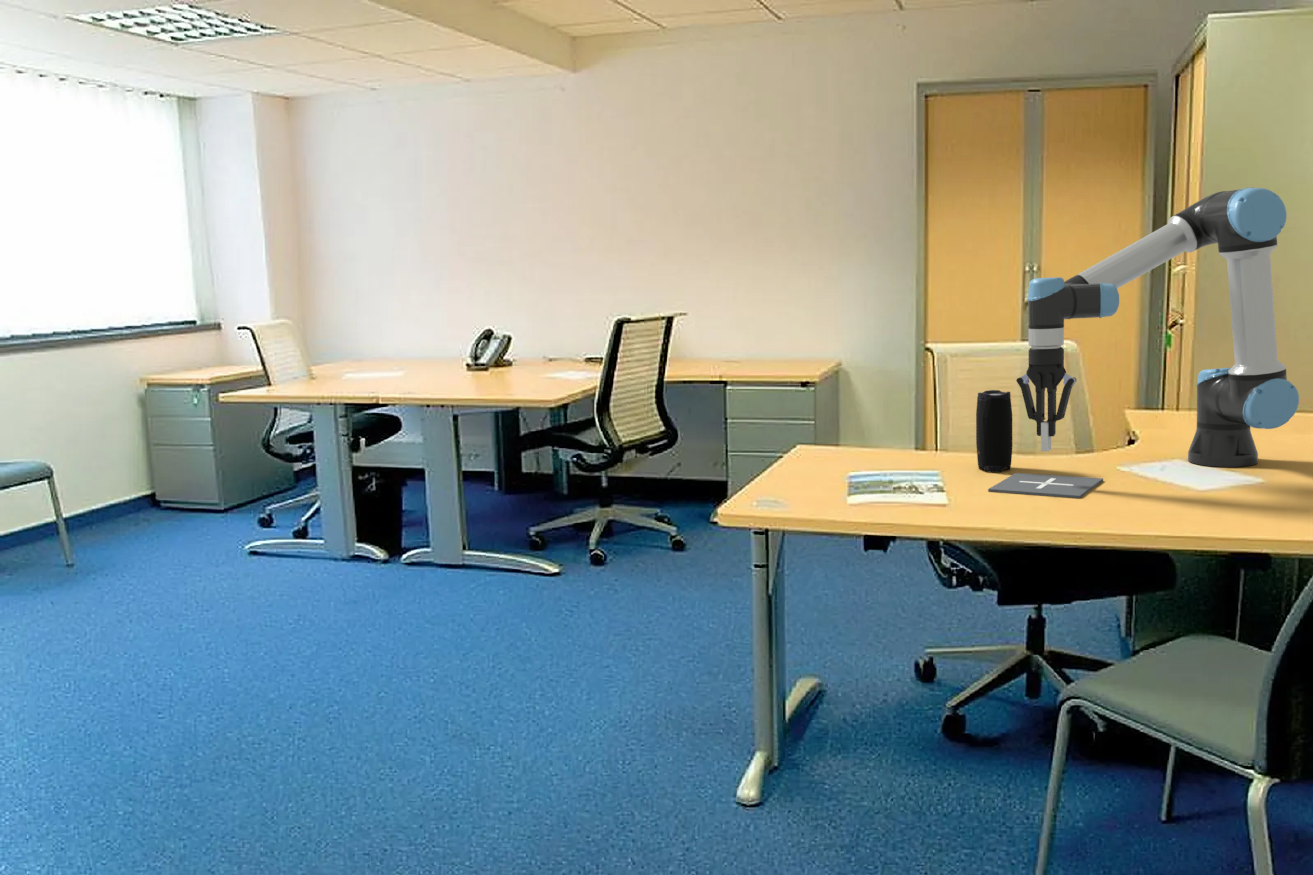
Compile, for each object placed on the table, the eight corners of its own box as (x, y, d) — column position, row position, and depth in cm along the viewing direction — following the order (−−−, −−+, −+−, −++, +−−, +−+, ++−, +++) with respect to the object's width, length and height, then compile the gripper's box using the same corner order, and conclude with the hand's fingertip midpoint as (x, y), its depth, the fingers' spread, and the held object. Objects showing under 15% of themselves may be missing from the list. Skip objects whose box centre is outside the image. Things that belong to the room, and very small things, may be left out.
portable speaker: (978, 473, 267) (977, 394, 264) (975, 466, 277) (974, 390, 274) (1014, 472, 266) (1014, 393, 263) (1010, 465, 275) (1009, 389, 272)
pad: (1103, 480, 251) (1103, 478, 251) (1079, 498, 235) (1079, 495, 235) (1016, 475, 263) (1016, 472, 263) (988, 491, 247) (988, 488, 247)
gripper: (1080, 345, 243) (1080, 449, 247) (1022, 345, 251) (1022, 446, 255) (1071, 348, 237) (1071, 454, 241) (1011, 348, 245) (1012, 451, 249)
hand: (1046, 450), depth 248 cm, fingers closed
